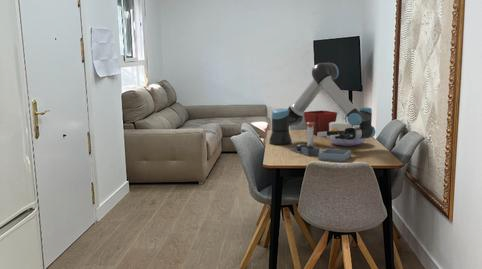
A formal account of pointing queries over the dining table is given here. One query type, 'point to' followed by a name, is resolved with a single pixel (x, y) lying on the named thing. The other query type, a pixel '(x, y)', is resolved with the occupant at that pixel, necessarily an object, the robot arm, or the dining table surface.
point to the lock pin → (309, 135)
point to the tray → (335, 155)
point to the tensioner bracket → (305, 150)
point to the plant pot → (320, 120)
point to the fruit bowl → (345, 141)
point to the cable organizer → (339, 126)
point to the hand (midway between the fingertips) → (323, 136)
